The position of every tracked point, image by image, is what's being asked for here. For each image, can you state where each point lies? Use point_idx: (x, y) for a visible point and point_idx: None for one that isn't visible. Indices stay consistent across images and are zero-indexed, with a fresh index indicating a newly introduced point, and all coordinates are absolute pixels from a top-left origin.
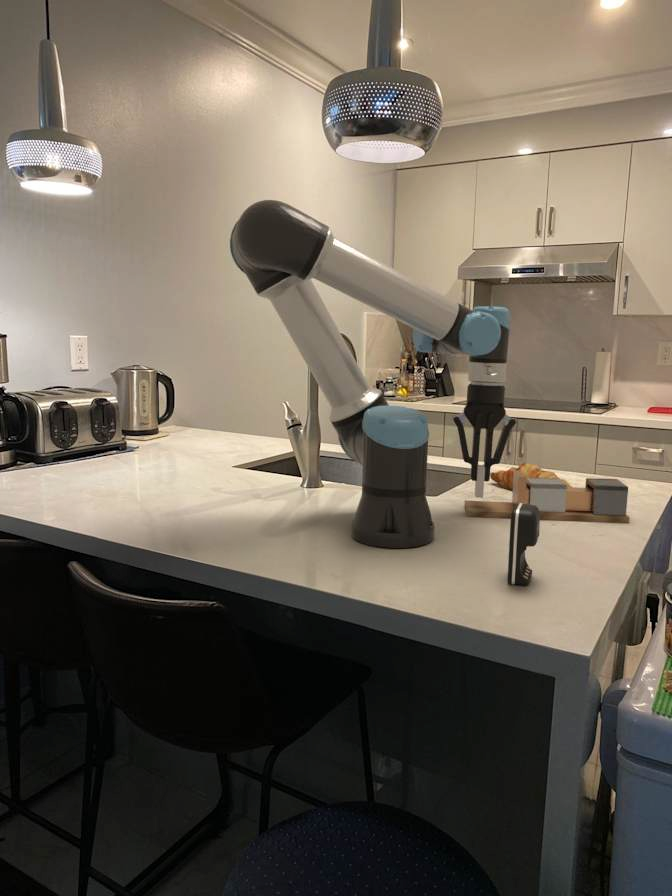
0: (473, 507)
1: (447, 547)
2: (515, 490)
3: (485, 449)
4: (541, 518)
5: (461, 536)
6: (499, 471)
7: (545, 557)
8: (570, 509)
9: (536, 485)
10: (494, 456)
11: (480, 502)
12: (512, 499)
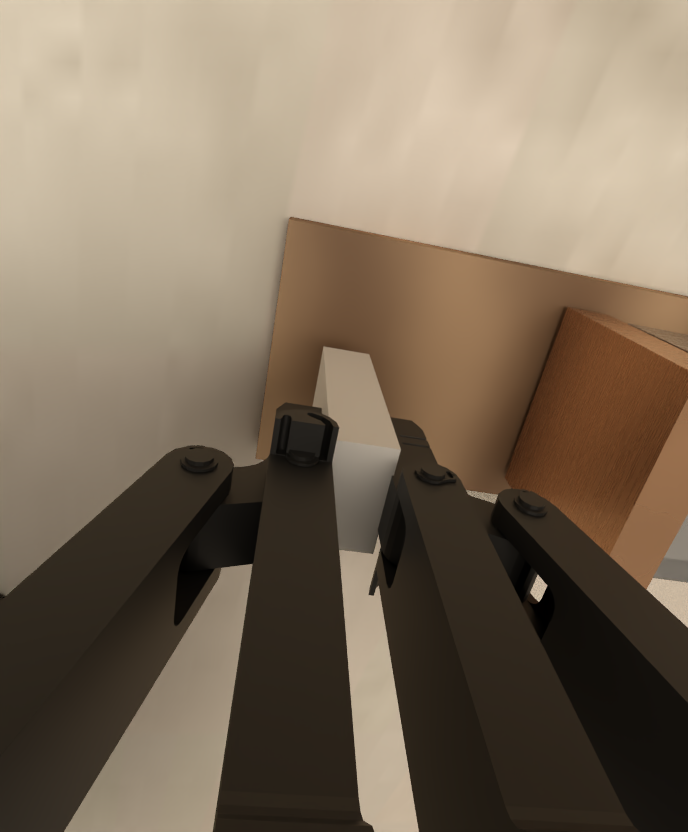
0: (302, 391)
1: (121, 757)
2: (570, 445)
3: (409, 641)
4: None
5: (181, 676)
6: None
7: (385, 811)
8: None
9: (667, 574)
10: (517, 543)
11: (377, 277)
12: (571, 322)
